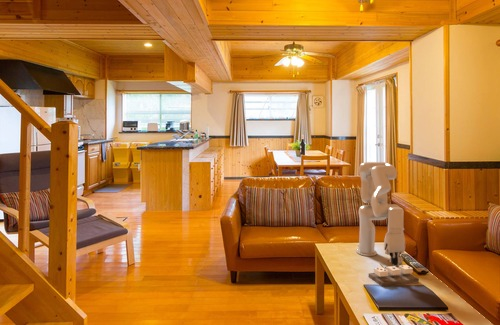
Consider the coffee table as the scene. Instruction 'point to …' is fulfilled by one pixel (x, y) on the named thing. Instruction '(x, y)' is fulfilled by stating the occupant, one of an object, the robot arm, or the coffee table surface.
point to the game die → (398, 261)
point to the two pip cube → (406, 269)
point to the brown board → (393, 279)
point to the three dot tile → (381, 271)
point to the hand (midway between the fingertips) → (394, 264)
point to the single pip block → (393, 270)
